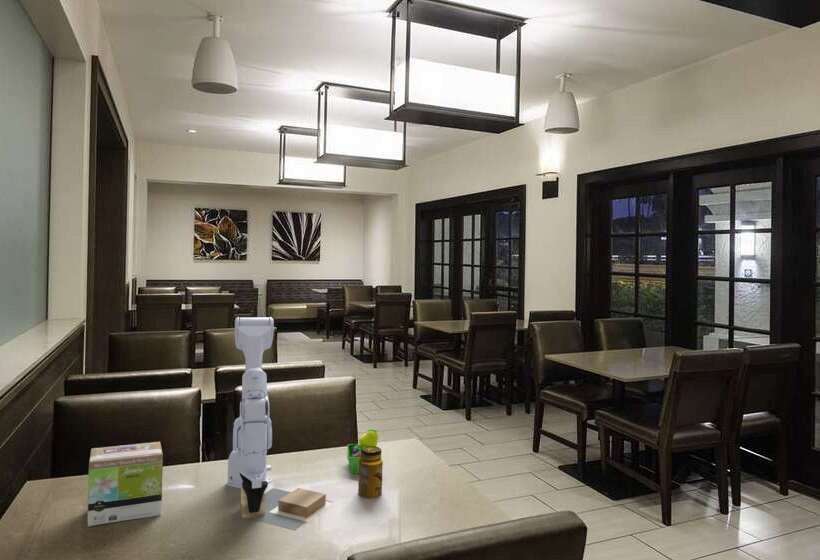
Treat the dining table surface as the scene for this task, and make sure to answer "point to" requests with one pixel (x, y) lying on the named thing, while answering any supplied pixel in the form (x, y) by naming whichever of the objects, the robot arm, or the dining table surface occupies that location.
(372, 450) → the condiment
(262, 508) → the maple cube
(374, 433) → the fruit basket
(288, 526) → the mat
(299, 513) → the walnut base
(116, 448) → the tea box
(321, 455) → the dining table surface
